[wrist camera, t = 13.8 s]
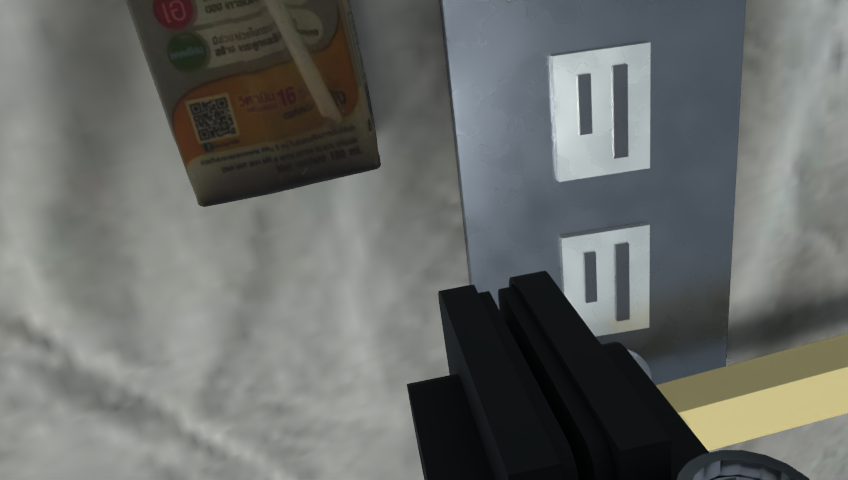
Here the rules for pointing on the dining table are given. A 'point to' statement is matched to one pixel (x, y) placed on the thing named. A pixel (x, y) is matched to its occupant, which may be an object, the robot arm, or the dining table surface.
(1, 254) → the dining table surface
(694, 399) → the swing arm
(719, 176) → the chassis
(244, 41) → the beverage carton
